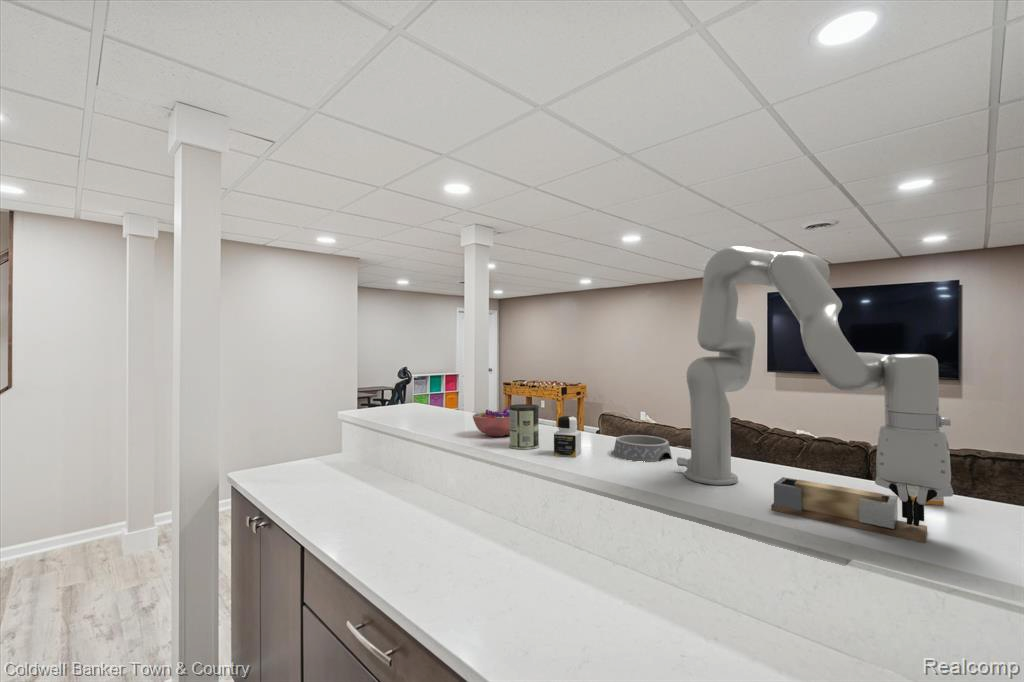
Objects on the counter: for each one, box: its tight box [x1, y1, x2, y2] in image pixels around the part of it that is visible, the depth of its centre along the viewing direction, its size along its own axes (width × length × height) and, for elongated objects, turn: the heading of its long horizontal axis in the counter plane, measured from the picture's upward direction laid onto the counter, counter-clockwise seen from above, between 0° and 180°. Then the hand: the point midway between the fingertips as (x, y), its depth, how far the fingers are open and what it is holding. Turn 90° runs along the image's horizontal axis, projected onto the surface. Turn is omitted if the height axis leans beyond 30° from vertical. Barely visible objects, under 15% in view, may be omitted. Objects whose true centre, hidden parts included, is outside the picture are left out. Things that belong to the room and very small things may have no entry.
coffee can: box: [508, 403, 540, 451], centre depth 160 cm, size 10×10×14 cm
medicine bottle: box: [553, 415, 582, 458], centre depth 148 cm, size 7×7×12 cm
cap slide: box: [859, 493, 899, 529], centre depth 87 cm, size 5×7×4 cm
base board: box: [770, 502, 928, 544], centre depth 91 cm, size 24×7×1 cm, turn 46°
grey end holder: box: [773, 476, 803, 511], centre depth 97 cm, size 5×7×4 cm
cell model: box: [472, 405, 510, 437], centre depth 180 cm, size 17×20×11 cm
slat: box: [794, 479, 884, 521], centre depth 91 cm, size 14×4×5 cm, turn 46°
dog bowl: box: [612, 434, 673, 463], centre depth 147 cm, size 17×18×5 cm
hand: (913, 523), depth 84 cm, fingers closed
